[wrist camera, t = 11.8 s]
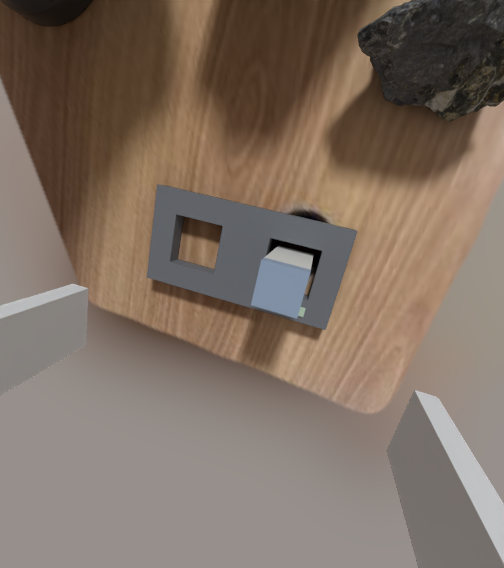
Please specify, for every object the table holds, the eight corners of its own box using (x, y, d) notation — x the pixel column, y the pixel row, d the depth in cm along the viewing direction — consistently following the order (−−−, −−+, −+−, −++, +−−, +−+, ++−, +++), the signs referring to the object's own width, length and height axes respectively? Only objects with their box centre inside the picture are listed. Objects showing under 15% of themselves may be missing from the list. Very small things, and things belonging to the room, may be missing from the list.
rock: (551, -81, 20) (616, -147, 13) (554, 71, 24) (605, 82, 17) (369, 34, 27) (349, 32, 20) (394, 136, 31) (384, 163, 24)
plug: (270, 278, 34) (250, 305, 24) (278, 245, 32) (261, 259, 23) (304, 287, 33) (297, 318, 24) (313, 254, 32) (310, 272, 22)
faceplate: (155, 274, 37) (146, 277, 35) (166, 185, 34) (156, 184, 32) (325, 323, 33) (325, 330, 31) (355, 229, 30) (357, 231, 28)
